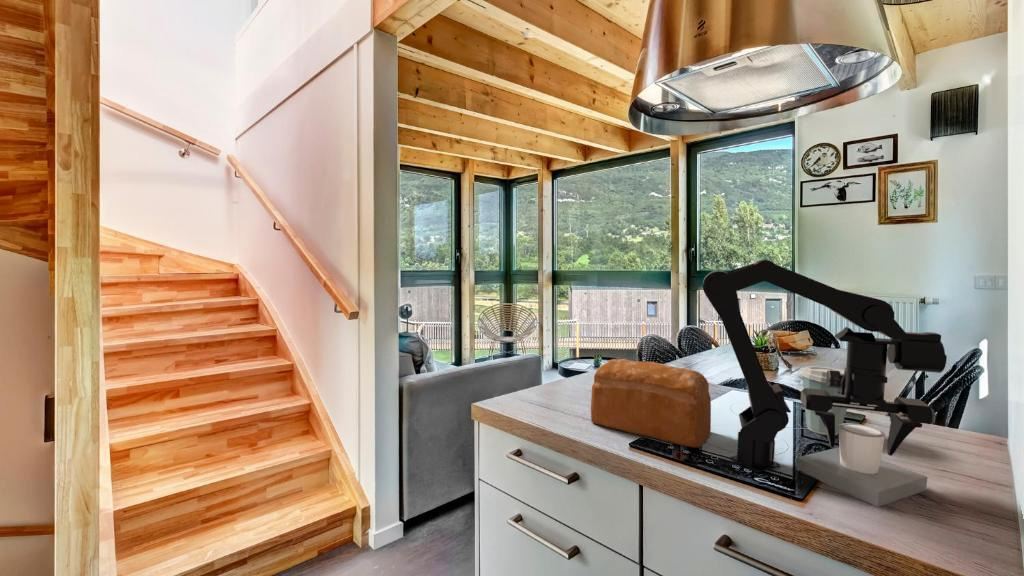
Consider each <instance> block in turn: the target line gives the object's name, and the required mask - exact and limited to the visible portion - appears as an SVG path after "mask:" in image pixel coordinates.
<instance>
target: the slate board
mask: <svg viewBox="0 0 1024 576" xmlns="http://www.w3.org/2000/svg"><path fill="white" fill-rule="evenodd" d="M796 469H798V470H801V471H803V472H805V473H807V474H810V475H811V476H813V477H815V478H816V479H815V478H814V479H815V480H817V479H818V481H820V482H822V483H823V484H826V485H828V486H831V487H832V488H835V489H836V490H839V491H842V492H844V493H846V494H849V495H850V496H853V497H855V498H857V499H859V500H861V501H864V502H866V503H868V504H870V505H873V506H874V507H877V508H878V507H881V506H884V505H887V504H889V503H893V502H896V501H899V500H902V499H904V498H908V497H910V496H913V495H916V494H919V493H922V492H926V491H927V489H928V487H927V486H928V476H927V475H924V474H922V473H918V472H916V471H913V470H911V469H907V468H906V467H902V466H899V465H897V464H894V463H891V462H889V461H886V460H883V459H881V460H880V465H879V470H878V473H875V474H867V473H860V472H857V471H853V470H850V469H848V468H846V467H844V466H843V465H842V464H841V463H840V446H839V447H834V448H830V449H826V450H822V451H818V452H813V453H809V454H806V455H801V456H798V457H796ZM813 477H812V478H813Z"/></svg>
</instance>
